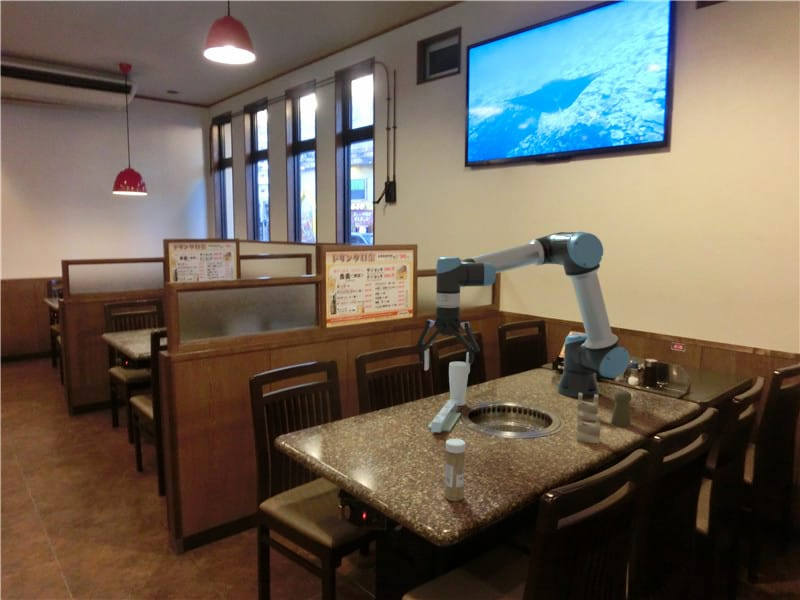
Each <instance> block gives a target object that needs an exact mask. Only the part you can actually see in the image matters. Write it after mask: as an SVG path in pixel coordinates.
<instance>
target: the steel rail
mask: <svg viewBox="0 0 800 600" xmlns="http://www.w3.org/2000/svg"><path fill="white" fill-rule="evenodd" d="M458 407H459V406H458V400H451V399H448V400H447V401H446V403H445V404H444V405H443V407H442V408H441V409H440V410H439V412H438V413H437V414H436V416H435V417H434V418H433V420H432V421H431V422H430V423H431V429H430V431H431V433H438V434H439V433H440V434H441V433H442V432H443V431H442V430H443V429H444V427H445V426H446V424H447V423H448V422H449V420H450V419H451V417H452V416H453V414H454V413H455V412H457V410H458Z"/></svg>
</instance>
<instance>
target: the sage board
mask: <svg viewBox="0 0 800 600" xmlns="http://www.w3.org/2000/svg"><path fill="white" fill-rule="evenodd" d="M461 415H462V412H457V411H455V413H454V414H453V416H452V417H451V419H450V420H449V422H448V423H447V424H446V426H445V427H444V429H443V430H442V432H449V433H450V432H451V431H452V429H453V427H454V426H455V425H456V423H457V421H458V420H459V419H460V417H461ZM427 429H429V430H431V422H430V423H429V424H428V425H427Z"/></svg>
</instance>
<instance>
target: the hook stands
mask: <svg viewBox="0 0 800 600" xmlns="http://www.w3.org/2000/svg"><path fill="white" fill-rule="evenodd" d="M577 399H578V401H577V416H576V417H577V433H576V442H580V443H581V442H582V443H588V442H589V444H595V443H597V444H596V445H599V444H600V437H601V435H600V434H601V419H602V418H601V417H602V416H601V414H600V413H599V412H598V411H599V410H598V409H599V395H595V394H594V398H593V402H588V401H583V398H582V393H579V396H578V398H577ZM598 413H599V414H598ZM587 419H588V421H595V420H596V421H595V423H593V422H584V421H583V420H587Z"/></svg>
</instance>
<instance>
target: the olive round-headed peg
mask: <svg viewBox="0 0 800 600" xmlns="http://www.w3.org/2000/svg"><path fill="white" fill-rule="evenodd" d="M613 398H614V400H615V404H614V407H613V411H612V412H613V413H612V415H611V420H610V423H611V425H612V424H613V425H612V426H614V425H615V427H619V428H630V427H631V426H632V421H631V408H630V402H631V401H632V394H631V392H630V391H627V390H616V391H615V392H614V395H613Z"/></svg>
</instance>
